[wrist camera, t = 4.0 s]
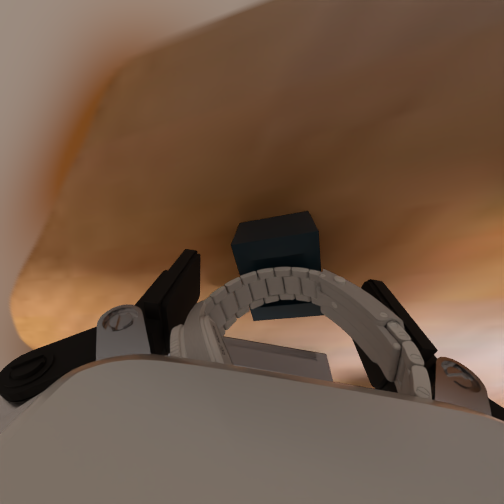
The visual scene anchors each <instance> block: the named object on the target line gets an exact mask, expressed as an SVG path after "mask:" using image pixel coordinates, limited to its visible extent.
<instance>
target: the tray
mask: <svg viewBox="0 0 504 504" xmlns="http://www.w3.org/2000/svg"><path fill="white" fill-rule="evenodd" d="M223 339H224V342H225V344H226V347H227V349H228V351H229V354H230V356H231V359H232V361H233V364H234V365H235V366H241V367H248V368H254V369H260V370H266V371H272V372H278V373H284V374H290V375H296V376H302V377H308V378H314V379H320V380H325V381H331V382H333V379H332V375H331V371H330V367H329V363H328V359H327V355H326V354H321V353H315V352H309V351H304V350H298V349H292V348H286V347H280V346H274V345H269V344H263V343H257V342H251V341H245V340H240V339H234V338H228V337H223ZM168 356H170V353H169V354H168Z"/></svg>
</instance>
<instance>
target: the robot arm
mask: <svg viewBox="0 0 504 504" xmlns="http://www.w3.org/2000/svg"><path fill="white" fill-rule="evenodd" d="M361 289H363V290H364V291H366V292H367V293H369V294H370V295H371V296H373V297H374V298H376V299H377V300H378V301H380V302H381V303H382V304H383V305H385V306H386V307H387V308H388V309H390V310H391V311H392V312H393V313H394V314H395V315H397V316H398V317H399V318H400V319H401V320H402V321H403V324H404V329H405V331H406V333H407V334H408V335H409V336H410V338H411V341H412V342H413V343H414V344H415V345H416V347H417V349H418V350H419V352H420V354H421V356H422V358H423V360H424V367H425V368H426V370H427V372H428V376H429V380H430V385H431V394H432V399H427V398H421V397H416V396H411V395H406V394H400V393H398V391H397V388H396V385H395V383H394V382H390V381H388V380H387V378H386V377H385V375H384V373H383V371H382V370H381V368H380V367H379V365H378V364H377V363H375V362H373V361H371V359H370V358H369V357H368V356H367V355H366V353H365V352H364V351H363V350H362V349H361V347H360V346H359V345H358V344H357V343H356V342H355V341H354V340H353V342H354V344H355V346H356V349H357V351H358V354H359V356H360V359H361V361H362V363H363V366H364V368H365V371H366V373H367V376H368V378H369V380H370V383H371V385H372V386H373V387H374V388H375V389H372V388H366V387H360V386H355V385H349V384H343V383H337V382H331V381H325V380H320V379H314V378H308V377H302V376H296V375H290V374H284V373H278V372H272V371H266V370H260V369H254V368H248V367H241V366H235V365H229V364H223V363H217V362H211V361H204V360H197V359H190V358H183V357H176V356H168V354H169V353H170V335H171V331H172V329H173V328H174V327H176V326H178V325H180V324H182V325H184V324H185V321H186V319H187V316H188V314H189V313H190V311H191V310H192V308H193V307H194V305H195V304H196V303H197V301H198V299H199V295H200V254H197V251H195V250H189V249H185V250H184V252H183V253H182V254H181V255H180V256H179V258H178V259H177V260H176V261H175V263H174V264H173V265H172V266H171V268H170V269H169V270H165V271H163V272H162V273H161V275H160V276H159V277H158V278H157V279H156V281H155V282H154V283H153V284H152V285H151V287H150V288H149V289H148V290H147V291H146V293H145V294H144V295H143V296H142V297H141V298H140V300H139V301H138V302H137V303H136V304H135V305H121V306H117V307H115V308H112V309H110V310H109V311H107V312H106V313H104V314H103V315H102V316H101V317H100V319H99V320H98V323H97V327H95V328H92V329H89V330H86V331H84V332H81V333H78V334H76V335H73V336H70V337H68V338H65V339H62V340H60V341H57V342H54V343H51V344H49V345H46V346H43V347H41V348H38V349H35V350H33V351H30V352H28V353H26V354H24V355H21V356H20V357H18V358H16V359H15V360H13V361H12V362H11V363H9V364H8V365H7V366H6V367H5V368H3V370H2V371H1V372H0V504H504V408H503V407H501V406H499V405H498V404H496V403H495V402H493V401H492V400H490V399H489V398H488V395H487V390H486V388H485V386H484V384H483V383H482V381H481V380H480V379H479V378H478V377H477V376H476V375H475V374H474V373H473V372H472V371H471V370H469V369H468V368H467V367H465V366H464V365H462V364H461V363H459V362H457V361H455V360H453V359H450V358H447V357H439V358H436V357H435V356H434V354H435V353H436V352H437V351H438V350H437V349H436V348H435V346H434V345H433V344H432V343H431V341H430V340H429V339H428V338H427V336H426V335H425V334H424V333H423V331H422V330H421V329H420V328H419V326H418V325H417V324H416V323H415V321H414V320H413V319H412V318H411V316H410V315H409V314H408V313H407V311H406V310H405V309H404V308H403V306H402V305H401V304H400V303H399V301H398V300H397V299H396V298H395V296H394V295H393V294H392V293H391V291H390V290H389V289H388V288H387V286H386V285H385V284H384V283H383V282H382V281H378V280H371V279H370V280H368V281H366V282H364V284H363V285H362V287H361Z"/></svg>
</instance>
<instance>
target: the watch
mask: <svg viewBox="0 0 504 504" xmlns="http://www.w3.org/2000/svg"><path fill="white" fill-rule="evenodd" d="M231 247H232V250H233V254H234V257H235V260H236V264H237V267H238V270H239V274H240V277H237V278H235V279H233V280H231V281H229V282H227V283H226V284H224V286H225V287H224V286H221V287H220V288H218V289H217V290H215V291H214V292H213V293H212V294H210V297H208V298H206V299H205V300H203V301H201V302H199V303H197V304H195V305H194V307H193V308H192V310H191V311H190V313H189V314H188V316H187V319H186V321H185V324H184V325H182V324H180V325H178V326H176V327H174V328H173V329H172V331H171V335H170V356H176V357H183V358H190V359H197V360H204V361H211V362H217V363H223V364H229V365H234V364H233V361H232V359H231V356H230V354H229V351H228V349H227V347H226V344H225V342H224V339H223V336H224V334H225V330H228V329H229V328H230V327H231V326H232V324H233V323H234V322H235V321H236V320H237V319H236V317H237V318H240V317H241V316H243V315H244V314H246V313H247V312H249V310H251V314H252V317H253V320H254V321H259V320H271V319H283V318H295V317H308V316H320V315H325V316H327V317H328V318H329V319H331V320H332V321H333V322H335V323H336V324H337V325H338V326H339V327H341V328H342V329H343V330H344V331H345V332H346V333H347V334H348V335H349V336H350V337H351V338H352V339H353V340H354V341H355V342H356V343H357V344H358V345H359V346H360V347H361V349H362V350H363V351H364V352H365V353H366V355H367V356H368V357H369V358H370V359H371V361H373V362H375V363H377V364H378V365H379V367H380V368H381V370H382V371H383V373H384V375H385V377H386V378H387V380H388V381H390V382H394V383H395V385H396V388H397V391H398V393H400V394H406V395H411V396H416V397H421V398H427V399H432V394H431V385H430V380H429V376H428V372H427V370H426V368H425V367H424V360H423V358H422V356H421V354H420V352H419V350H418V349H417V347H416V345H415V344H414V343H413V342H412V341H411V338H410V336H409V335H408V334H407V333H406V331H405V329H404V324H403V321H402V320H401V319H400V318H399V317H398V316H397V315H395V314H394V313H393V312H392V311H391V310H390V309H388V308H387V307H386V306H385V305H383V304H382V303H381V302H380V301H378V300H377V299H376V298H374V297H373V296H371V295H370V294H369V293H367V292H366V291H364V290H363V289H361V288H360V287H358V286H356V285H355V284H353V283H351V282H349V281H348V280H346V279H344V278H343V277H340V276H338V275H336V274H334V273H332V272H330V271H327V270H325V269H323V272H321V262H320V246H319V231H318V229H317V227H316V225H315V223H314V221H313V219H312V217H311V215H310V214H309V212H308V211H305V212H299V213H293V214H288V215H282V216H277V217H271V218H265V219H260V220H254V221H248V222H243V223H240V224H239V226H238V229H237V231H236V234H235V236H234V238H233V241H232V243H231ZM240 278H241V279H240ZM249 308H250V309H249Z"/></svg>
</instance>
